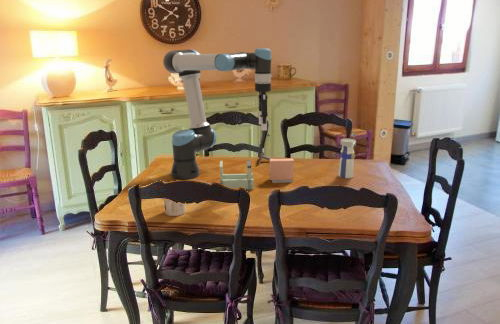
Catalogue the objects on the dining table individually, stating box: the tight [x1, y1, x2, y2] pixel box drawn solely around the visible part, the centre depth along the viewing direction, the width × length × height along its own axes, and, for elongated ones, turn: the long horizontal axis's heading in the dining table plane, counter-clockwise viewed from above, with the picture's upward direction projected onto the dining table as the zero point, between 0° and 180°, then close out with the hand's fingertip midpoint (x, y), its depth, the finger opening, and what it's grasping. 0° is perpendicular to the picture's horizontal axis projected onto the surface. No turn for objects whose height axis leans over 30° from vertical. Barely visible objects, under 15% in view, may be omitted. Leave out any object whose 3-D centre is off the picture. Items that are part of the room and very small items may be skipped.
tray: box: [271, 179, 293, 184], centre depth 212 cm, size 10×8×1 cm
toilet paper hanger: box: [258, 147, 273, 164], centre depth 235 cm, size 23×9×8 cm, turn 178°
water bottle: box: [337, 131, 357, 179], centre depth 214 cm, size 8×9×25 cm
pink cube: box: [268, 158, 295, 181], centre depth 210 cm, size 12×4×10 cm, turn 93°
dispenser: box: [219, 159, 255, 191], centre depth 201 cm, size 16×9×12 cm, turn 93°
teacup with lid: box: [163, 198, 187, 217], centre depth 171 cm, size 12×9×12 cm
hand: (262, 127), depth 199 cm, fingers open, 13 cm apart
